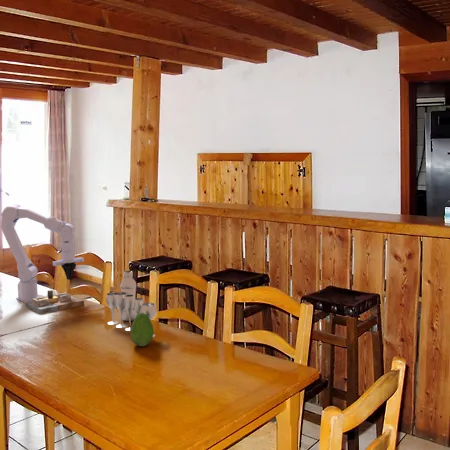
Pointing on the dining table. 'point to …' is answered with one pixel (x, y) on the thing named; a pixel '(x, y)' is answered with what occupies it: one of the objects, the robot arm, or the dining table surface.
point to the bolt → (51, 297)
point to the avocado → (142, 330)
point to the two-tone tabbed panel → (54, 303)
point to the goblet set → (128, 307)
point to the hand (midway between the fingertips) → (69, 279)
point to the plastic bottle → (128, 293)
